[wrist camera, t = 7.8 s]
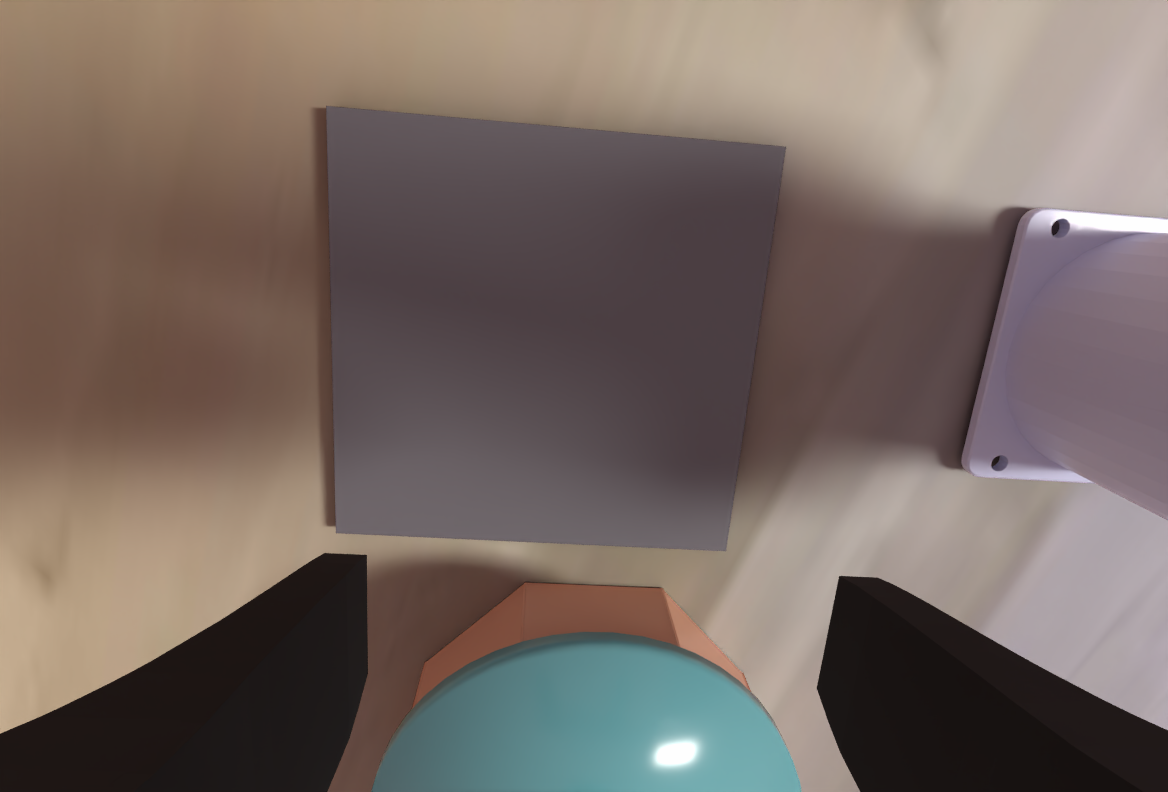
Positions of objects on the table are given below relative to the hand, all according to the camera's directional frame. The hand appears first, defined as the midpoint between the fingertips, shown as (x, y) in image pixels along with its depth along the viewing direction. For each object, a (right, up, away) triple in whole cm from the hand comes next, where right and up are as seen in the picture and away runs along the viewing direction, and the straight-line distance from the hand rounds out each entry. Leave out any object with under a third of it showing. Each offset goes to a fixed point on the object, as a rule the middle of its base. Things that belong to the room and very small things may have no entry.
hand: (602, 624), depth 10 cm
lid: (0, -8, +9) cm, 12 cm away
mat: (-1, +5, +9) cm, 11 cm away
